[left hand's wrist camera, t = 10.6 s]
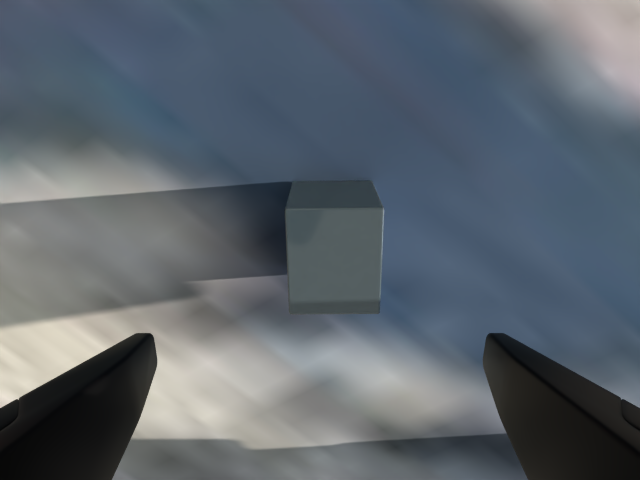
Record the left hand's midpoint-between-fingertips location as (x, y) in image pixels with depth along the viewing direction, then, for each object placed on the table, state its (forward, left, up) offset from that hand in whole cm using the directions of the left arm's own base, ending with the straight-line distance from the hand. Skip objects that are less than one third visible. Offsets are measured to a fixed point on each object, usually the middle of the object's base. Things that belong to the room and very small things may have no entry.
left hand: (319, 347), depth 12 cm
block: (-1, +1, -12) cm, 12 cm away
